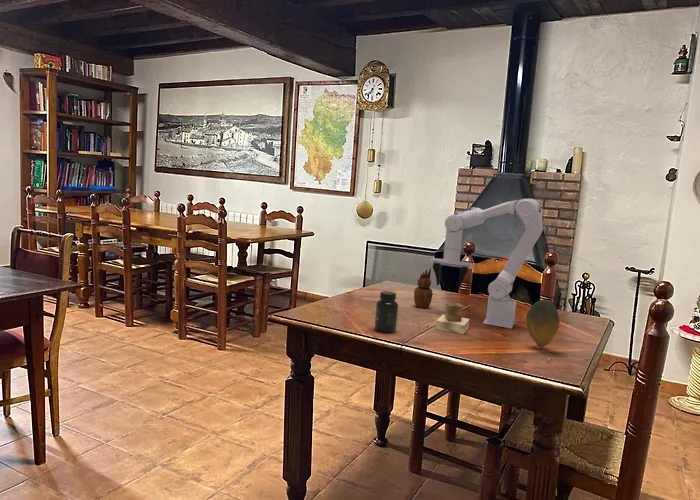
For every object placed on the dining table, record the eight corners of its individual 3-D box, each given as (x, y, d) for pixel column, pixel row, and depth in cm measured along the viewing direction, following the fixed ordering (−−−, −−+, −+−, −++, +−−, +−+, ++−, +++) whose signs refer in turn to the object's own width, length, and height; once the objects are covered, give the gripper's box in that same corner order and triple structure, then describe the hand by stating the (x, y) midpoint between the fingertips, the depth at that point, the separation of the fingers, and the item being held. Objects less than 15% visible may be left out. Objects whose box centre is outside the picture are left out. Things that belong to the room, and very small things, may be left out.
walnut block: (458, 318, 174) (459, 303, 173) (461, 321, 169) (462, 306, 169) (445, 317, 174) (446, 302, 173) (447, 320, 169) (449, 305, 168)
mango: (558, 351, 156) (565, 301, 154) (550, 355, 152) (557, 304, 149) (527, 342, 162) (533, 294, 160) (518, 346, 158) (524, 297, 156)
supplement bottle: (370, 327, 166) (373, 290, 165) (390, 326, 169) (393, 290, 167) (379, 333, 160) (382, 295, 158) (399, 333, 163) (403, 295, 161)
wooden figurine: (431, 306, 200) (434, 267, 198) (431, 309, 194) (434, 269, 192) (413, 304, 201) (416, 265, 199) (412, 307, 195) (416, 268, 193)
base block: (468, 327, 174) (469, 318, 174) (463, 334, 166) (464, 325, 165) (441, 323, 177) (442, 314, 177) (435, 329, 169) (436, 320, 169)
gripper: (475, 249, 188) (471, 287, 190) (435, 245, 193) (431, 281, 195) (471, 252, 181) (467, 290, 183) (430, 247, 187) (427, 284, 189)
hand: (448, 286), depth 189 cm, fingers open, 7 cm apart
